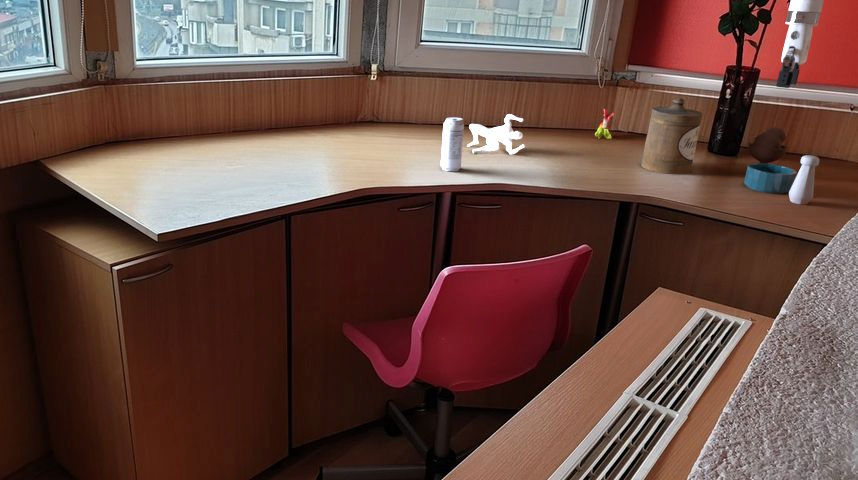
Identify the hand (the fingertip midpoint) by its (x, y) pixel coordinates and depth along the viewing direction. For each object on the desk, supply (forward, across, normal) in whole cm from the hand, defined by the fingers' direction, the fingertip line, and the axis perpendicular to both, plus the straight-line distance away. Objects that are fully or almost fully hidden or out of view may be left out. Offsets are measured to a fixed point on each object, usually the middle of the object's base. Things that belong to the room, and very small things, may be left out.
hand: (786, 85), depth 194 cm
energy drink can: (+30, -45, +77) cm, 94 cm away
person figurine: (+30, -14, +79) cm, 86 cm away
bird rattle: (+30, +36, +62) cm, 77 cm away
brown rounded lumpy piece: (+30, +21, +4) cm, 37 cm away
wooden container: (+30, +6, +29) cm, 42 cm away
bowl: (+30, +4, -1) cm, 30 cm away
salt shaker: (+30, -5, -11) cm, 32 cm away
